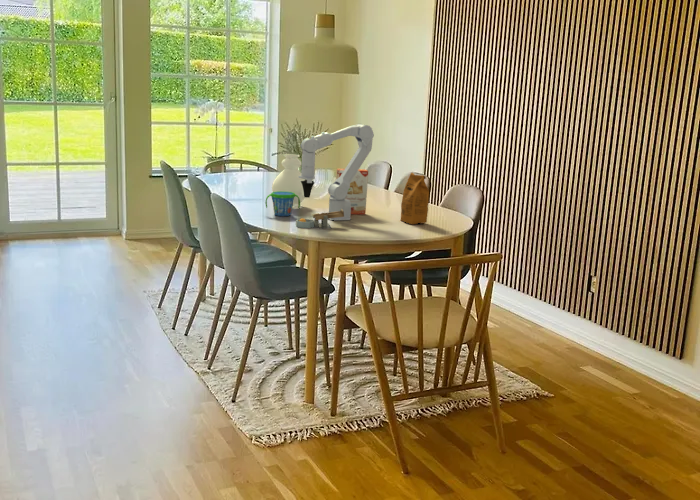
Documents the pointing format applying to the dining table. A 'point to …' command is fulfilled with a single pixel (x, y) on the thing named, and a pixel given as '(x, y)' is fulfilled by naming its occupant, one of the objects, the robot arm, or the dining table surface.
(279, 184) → the decorative vase
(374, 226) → the dining table surface
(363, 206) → the cracker box
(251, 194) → the dining table surface
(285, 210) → the snack cup
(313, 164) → the robot arm
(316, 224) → the fulcrum
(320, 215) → the lever
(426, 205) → the coffee package
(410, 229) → the dining table surface
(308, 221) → the grey octagonal bowl
